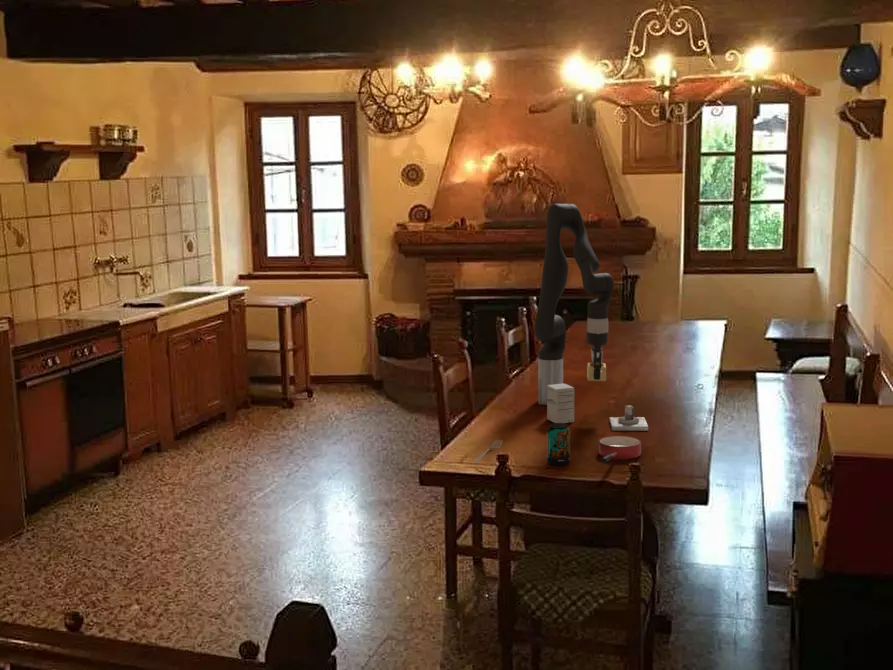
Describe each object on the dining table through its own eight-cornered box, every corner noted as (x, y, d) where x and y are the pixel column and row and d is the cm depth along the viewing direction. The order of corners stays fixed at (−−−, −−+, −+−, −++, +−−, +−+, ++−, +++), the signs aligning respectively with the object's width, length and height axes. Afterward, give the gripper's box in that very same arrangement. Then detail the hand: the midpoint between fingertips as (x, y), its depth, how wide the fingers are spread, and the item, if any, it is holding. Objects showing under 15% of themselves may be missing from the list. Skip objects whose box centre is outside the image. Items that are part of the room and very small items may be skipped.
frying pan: (635, 480, 295) (635, 459, 294) (589, 478, 298) (589, 457, 297) (642, 449, 325) (642, 430, 324) (600, 447, 329) (601, 428, 327)
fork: (466, 465, 314) (465, 459, 314) (495, 444, 336) (495, 439, 335) (475, 466, 313) (475, 460, 312) (504, 445, 334) (504, 440, 334)
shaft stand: (612, 430, 347) (612, 410, 346) (609, 421, 359) (609, 402, 358) (648, 430, 346) (648, 410, 345) (644, 421, 358) (644, 401, 357)
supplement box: (546, 419, 363) (546, 384, 361) (565, 417, 366) (565, 382, 364) (556, 424, 357) (555, 389, 354) (575, 422, 359) (574, 386, 357)
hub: (588, 380, 358) (588, 366, 357) (587, 376, 364) (587, 362, 363) (605, 381, 357) (606, 367, 356) (604, 376, 363) (605, 363, 362)
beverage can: (566, 467, 308) (566, 429, 306) (544, 465, 310) (544, 427, 308) (572, 461, 314) (572, 423, 312) (550, 459, 317) (550, 421, 315)
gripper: (585, 326, 365) (584, 372, 368) (587, 334, 351) (586, 381, 354) (607, 326, 364) (605, 372, 367) (609, 334, 350) (608, 382, 353)
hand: (596, 376), depth 360 cm, fingers closed on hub, 6 cm apart
